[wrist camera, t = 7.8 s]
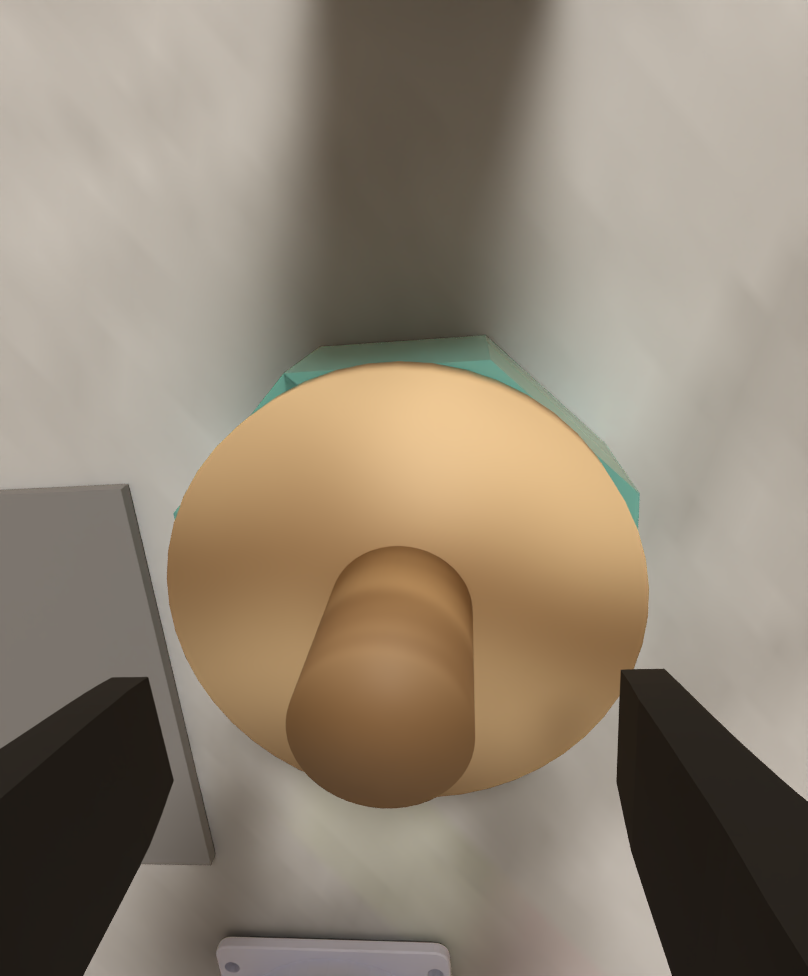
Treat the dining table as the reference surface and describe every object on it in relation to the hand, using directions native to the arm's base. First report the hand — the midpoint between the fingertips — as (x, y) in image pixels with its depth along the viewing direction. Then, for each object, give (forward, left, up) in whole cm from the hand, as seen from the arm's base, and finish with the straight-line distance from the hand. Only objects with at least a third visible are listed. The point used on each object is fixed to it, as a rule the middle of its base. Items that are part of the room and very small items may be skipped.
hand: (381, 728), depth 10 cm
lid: (0, 0, -4) cm, 4 cm away
